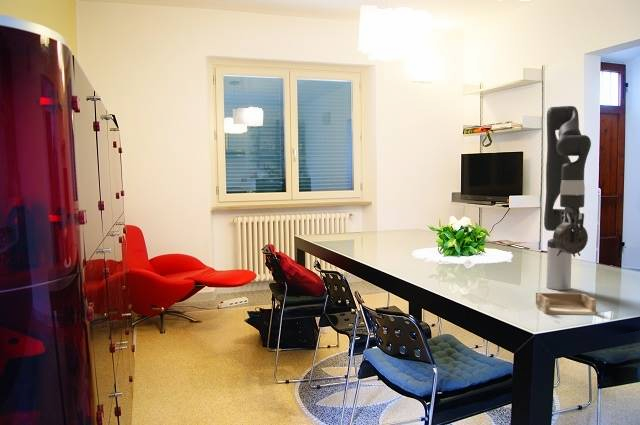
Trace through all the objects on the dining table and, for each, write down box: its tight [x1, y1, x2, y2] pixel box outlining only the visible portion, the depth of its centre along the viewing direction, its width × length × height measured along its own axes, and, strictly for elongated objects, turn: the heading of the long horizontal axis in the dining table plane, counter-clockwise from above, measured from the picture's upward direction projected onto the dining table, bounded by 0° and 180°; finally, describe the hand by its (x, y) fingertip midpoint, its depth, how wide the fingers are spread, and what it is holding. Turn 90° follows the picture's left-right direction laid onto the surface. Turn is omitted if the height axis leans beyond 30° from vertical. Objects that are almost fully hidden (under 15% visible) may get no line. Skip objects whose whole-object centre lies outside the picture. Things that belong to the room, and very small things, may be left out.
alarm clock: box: [552, 212, 589, 258], centre depth 175 cm, size 11×5×16 cm, turn 100°
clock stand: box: [535, 292, 597, 316], centre depth 176 cm, size 10×16×5 cm, turn 85°
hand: (571, 241), depth 175 cm, fingers closed on alarm clock, 5 cm apart
